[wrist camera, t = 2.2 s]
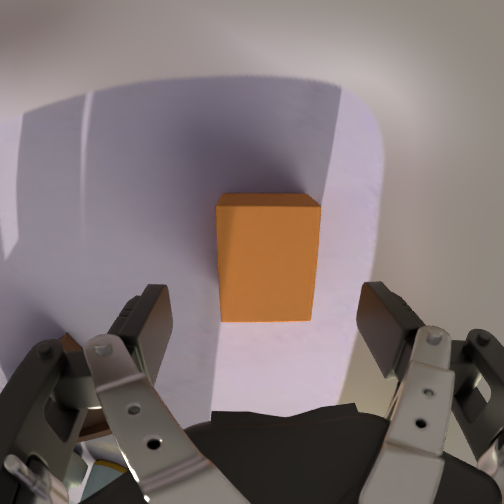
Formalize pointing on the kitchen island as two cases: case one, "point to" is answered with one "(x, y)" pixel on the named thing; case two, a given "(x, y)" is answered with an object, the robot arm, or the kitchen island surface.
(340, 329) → the kitchen island surface
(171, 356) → the kitchen island surface
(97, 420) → the frame
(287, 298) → the orange rectangular block
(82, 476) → the air freshener
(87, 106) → the kitchen island surface
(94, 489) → the bottle
